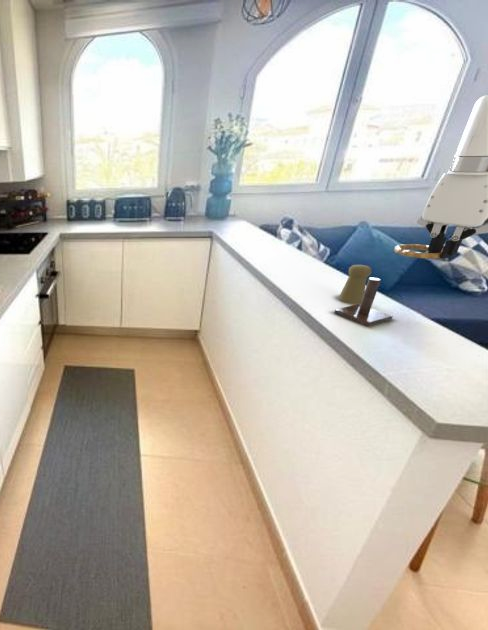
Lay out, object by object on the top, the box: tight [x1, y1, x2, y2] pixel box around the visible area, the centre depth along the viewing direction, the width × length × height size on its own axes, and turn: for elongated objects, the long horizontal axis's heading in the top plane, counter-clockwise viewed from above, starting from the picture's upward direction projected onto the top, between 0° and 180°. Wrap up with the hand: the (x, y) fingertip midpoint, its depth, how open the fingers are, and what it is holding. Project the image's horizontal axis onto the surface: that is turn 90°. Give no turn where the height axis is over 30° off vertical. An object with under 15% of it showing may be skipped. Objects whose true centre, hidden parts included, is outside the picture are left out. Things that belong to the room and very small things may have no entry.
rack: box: [334, 277, 394, 327], centre depth 94 cm, size 9×9×11 cm
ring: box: [393, 243, 443, 260], centre depth 78 cm, size 9×9×1 cm
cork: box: [338, 264, 372, 305], centre depth 104 cm, size 6×6×11 cm
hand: (439, 255), depth 75 cm, fingers closed on ring, 1 cm apart
